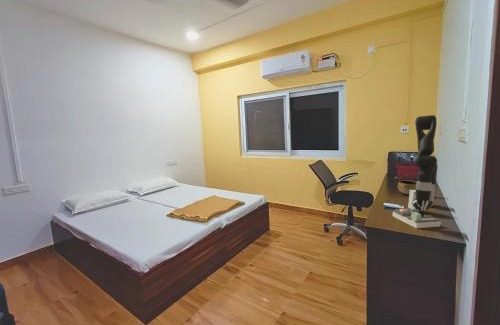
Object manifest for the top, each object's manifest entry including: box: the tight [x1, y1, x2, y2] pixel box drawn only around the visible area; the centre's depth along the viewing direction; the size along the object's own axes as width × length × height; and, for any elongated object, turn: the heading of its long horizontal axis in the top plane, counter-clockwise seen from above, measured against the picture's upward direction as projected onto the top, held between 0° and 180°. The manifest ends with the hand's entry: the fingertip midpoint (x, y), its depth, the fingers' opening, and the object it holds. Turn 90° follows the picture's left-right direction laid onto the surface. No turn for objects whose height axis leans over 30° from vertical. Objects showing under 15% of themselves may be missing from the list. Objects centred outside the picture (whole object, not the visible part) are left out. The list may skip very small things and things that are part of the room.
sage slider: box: [411, 212, 421, 221], centre depth 147 cm, size 4×3×4 cm
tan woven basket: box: [394, 176, 417, 196], centre depth 213 cm, size 22×17×15 cm
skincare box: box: [407, 190, 421, 208], centre depth 171 cm, size 8×6×15 cm
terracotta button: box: [398, 208, 409, 212], centre depth 158 cm, size 5×5×2 cm
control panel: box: [392, 207, 442, 229], centre depth 154 cm, size 20×16×5 cm
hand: (421, 216), depth 147 cm, fingers closed
